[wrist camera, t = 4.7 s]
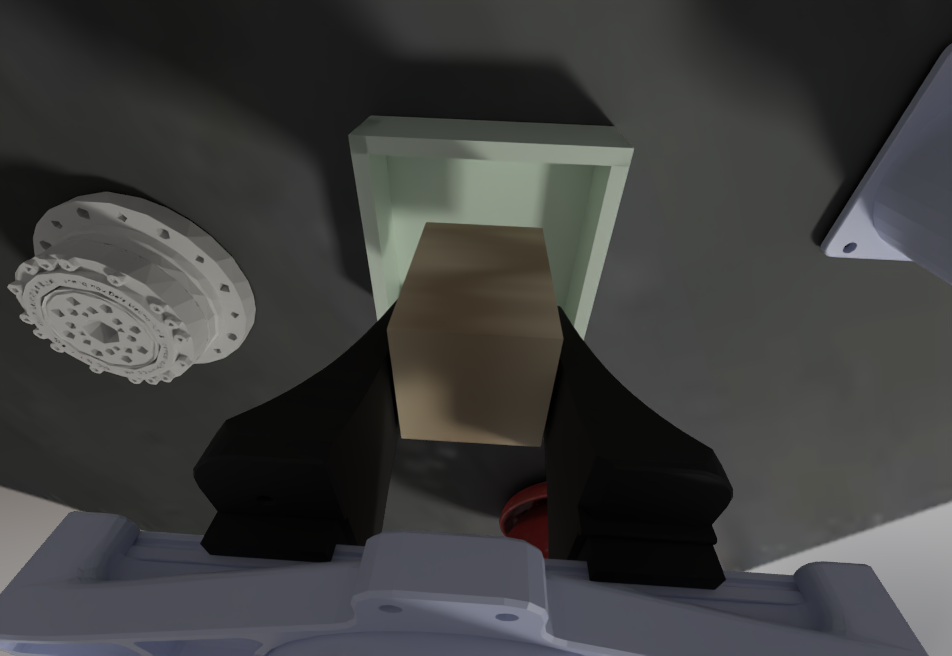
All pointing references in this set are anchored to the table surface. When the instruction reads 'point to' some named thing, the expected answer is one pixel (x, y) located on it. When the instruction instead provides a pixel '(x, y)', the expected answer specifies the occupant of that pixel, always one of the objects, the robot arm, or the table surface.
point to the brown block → (476, 336)
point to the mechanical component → (132, 288)
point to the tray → (490, 193)
